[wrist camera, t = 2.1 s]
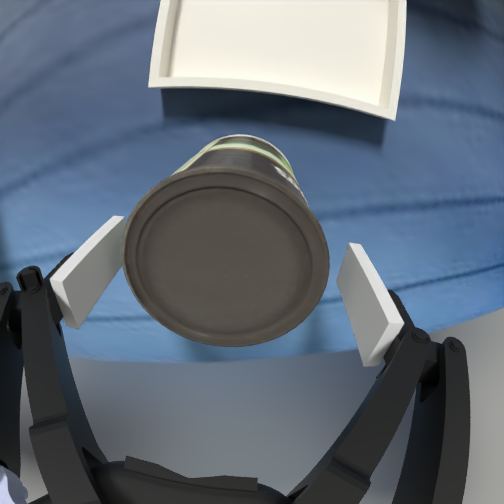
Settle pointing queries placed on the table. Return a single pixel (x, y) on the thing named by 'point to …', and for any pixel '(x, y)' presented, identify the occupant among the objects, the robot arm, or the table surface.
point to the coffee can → (227, 247)
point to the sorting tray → (285, 49)
